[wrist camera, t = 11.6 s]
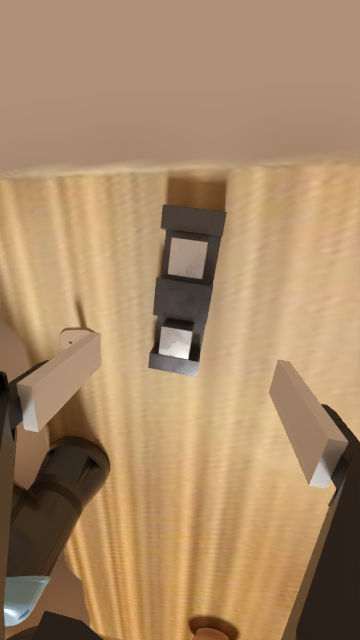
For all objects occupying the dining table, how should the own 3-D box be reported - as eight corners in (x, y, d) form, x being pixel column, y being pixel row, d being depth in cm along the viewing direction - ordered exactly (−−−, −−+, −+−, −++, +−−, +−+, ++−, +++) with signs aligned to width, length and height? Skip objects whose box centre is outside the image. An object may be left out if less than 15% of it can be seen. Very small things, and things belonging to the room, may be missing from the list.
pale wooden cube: (177, 239, 31) (171, 237, 26) (208, 243, 31) (207, 242, 26) (174, 270, 32) (167, 273, 28) (203, 274, 32) (201, 279, 27)
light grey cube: (165, 340, 37) (158, 353, 32) (168, 315, 35) (161, 326, 30) (191, 344, 36) (187, 359, 31) (195, 320, 35) (192, 331, 30)
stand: (58, 329, 40) (97, 329, 39) (64, 353, 41) (102, 353, 40) (24, 347, 33) (71, 348, 31) (33, 375, 34) (78, 376, 33)
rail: (154, 355, 38) (148, 367, 35) (169, 209, 30) (162, 204, 27) (198, 364, 38) (196, 377, 34) (224, 216, 30) (226, 212, 26)
